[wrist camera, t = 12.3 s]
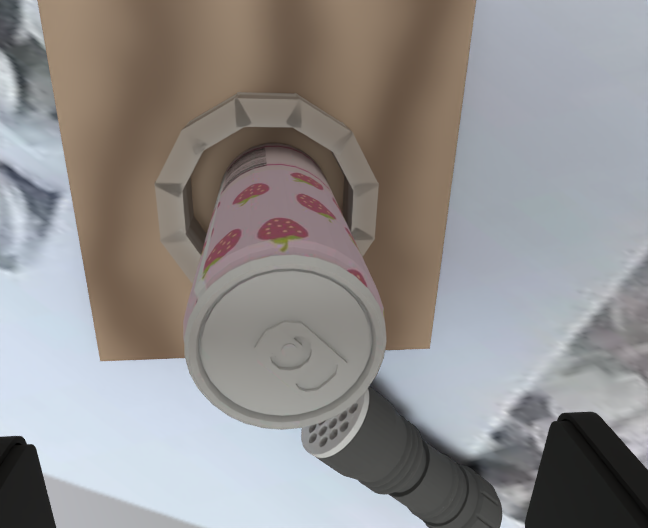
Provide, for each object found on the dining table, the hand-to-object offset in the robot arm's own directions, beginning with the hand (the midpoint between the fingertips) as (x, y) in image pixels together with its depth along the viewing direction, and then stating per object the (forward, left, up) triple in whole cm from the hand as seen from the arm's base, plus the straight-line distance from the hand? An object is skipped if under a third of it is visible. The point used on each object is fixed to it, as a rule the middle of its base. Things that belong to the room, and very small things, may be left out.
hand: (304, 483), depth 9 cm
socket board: (0, 0, -20) cm, 20 cm away
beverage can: (0, 0, -19) cm, 19 cm away
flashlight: (-9, +18, -21) cm, 29 cm away
